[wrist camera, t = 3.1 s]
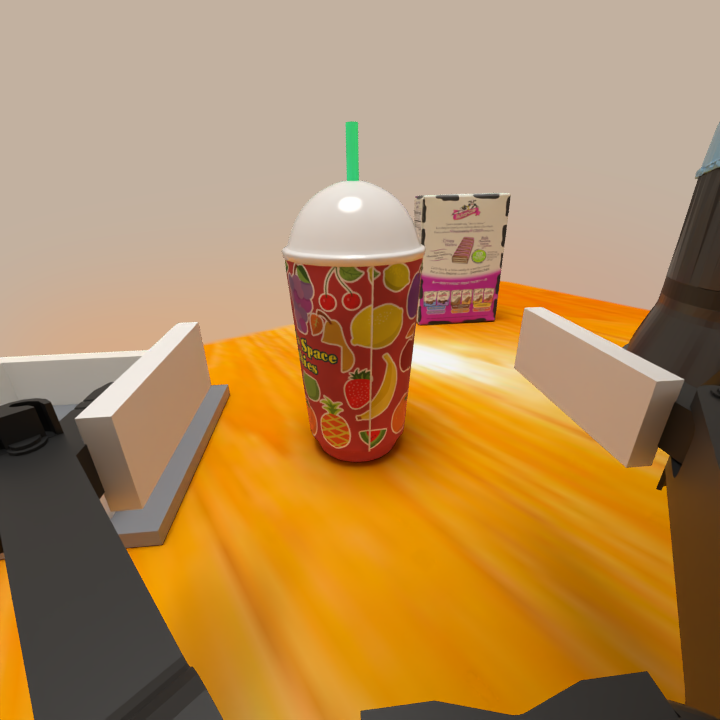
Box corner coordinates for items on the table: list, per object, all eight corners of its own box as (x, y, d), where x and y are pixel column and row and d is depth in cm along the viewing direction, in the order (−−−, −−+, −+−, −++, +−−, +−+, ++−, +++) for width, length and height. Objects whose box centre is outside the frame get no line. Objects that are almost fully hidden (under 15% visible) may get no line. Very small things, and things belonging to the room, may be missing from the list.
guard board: (229, 394, 34) (220, 343, 32) (162, 544, 19) (137, 469, 17) (-7, 407, 32) (-32, 355, 30) (-274, 584, 18) (-359, 505, 16)
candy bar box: (480, 311, 56) (495, 193, 50) (495, 322, 52) (514, 193, 45) (408, 315, 55) (413, 194, 48) (417, 326, 51) (424, 194, 44)
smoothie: (289, 422, 30) (258, 130, 21) (383, 400, 33) (387, 136, 24) (320, 492, 23) (291, 99, 14) (436, 457, 26) (467, 112, 17)
